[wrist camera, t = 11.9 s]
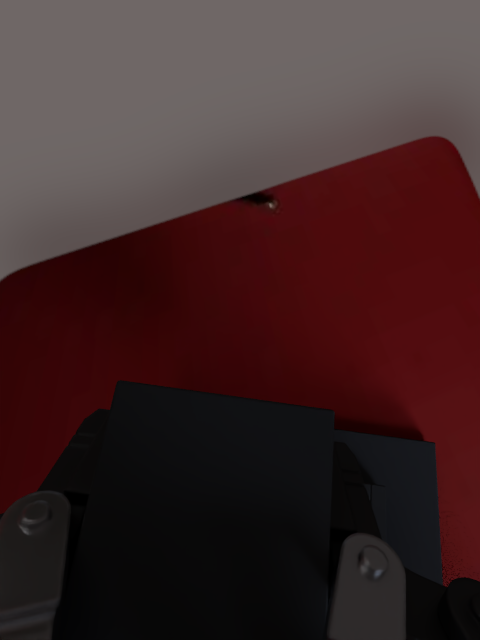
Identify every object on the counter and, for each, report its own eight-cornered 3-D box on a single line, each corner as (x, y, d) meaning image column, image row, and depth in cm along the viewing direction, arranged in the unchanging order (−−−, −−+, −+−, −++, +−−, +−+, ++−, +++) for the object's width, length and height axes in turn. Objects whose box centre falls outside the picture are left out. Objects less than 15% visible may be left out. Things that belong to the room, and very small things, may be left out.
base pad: (162, 666, 22) (156, 691, 20) (202, 412, 27) (201, 408, 25) (440, 701, 22) (466, 730, 20) (427, 442, 28) (447, 442, 25)
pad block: (137, 549, 14) (44, 659, 6) (163, 415, 16) (115, 377, 8) (267, 566, 14) (328, 695, 6) (278, 431, 16) (337, 407, 8)
